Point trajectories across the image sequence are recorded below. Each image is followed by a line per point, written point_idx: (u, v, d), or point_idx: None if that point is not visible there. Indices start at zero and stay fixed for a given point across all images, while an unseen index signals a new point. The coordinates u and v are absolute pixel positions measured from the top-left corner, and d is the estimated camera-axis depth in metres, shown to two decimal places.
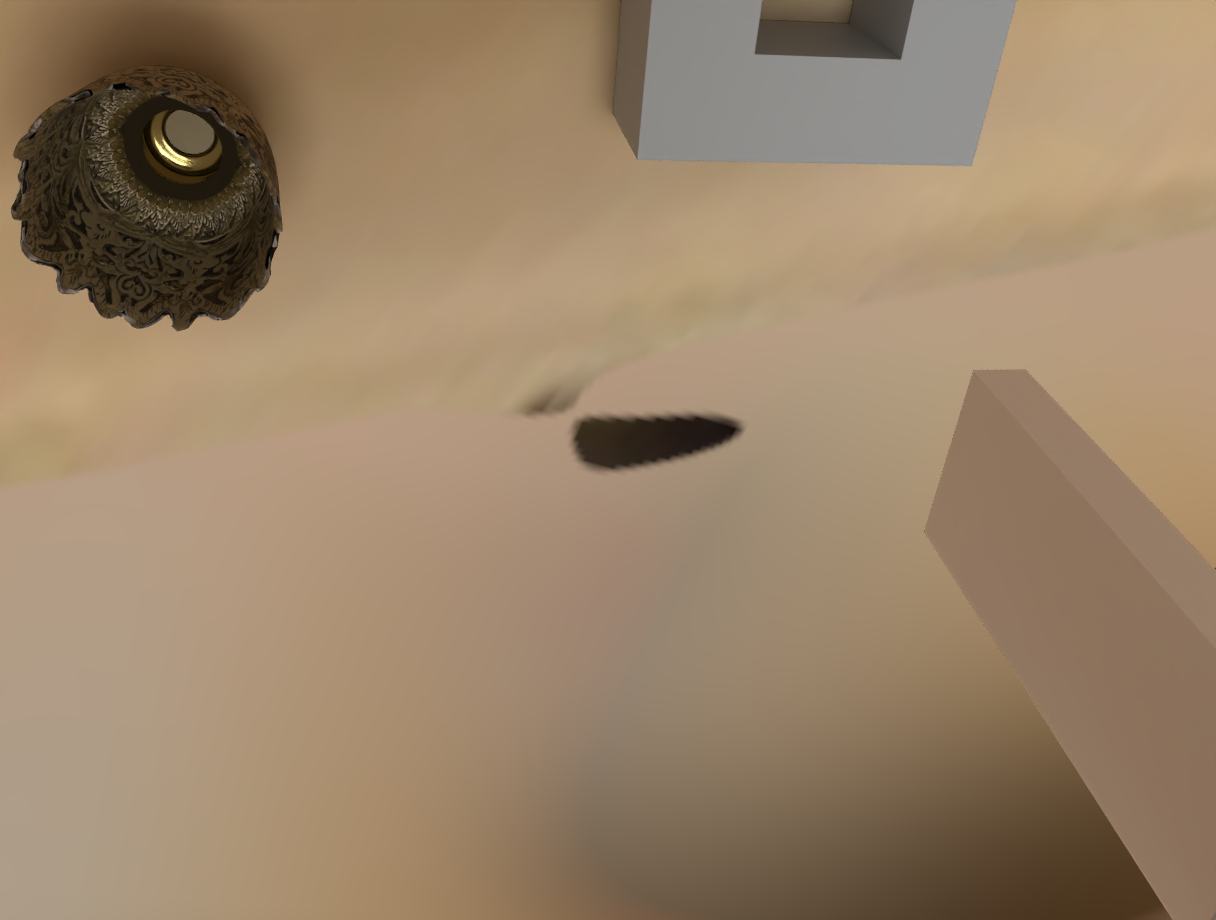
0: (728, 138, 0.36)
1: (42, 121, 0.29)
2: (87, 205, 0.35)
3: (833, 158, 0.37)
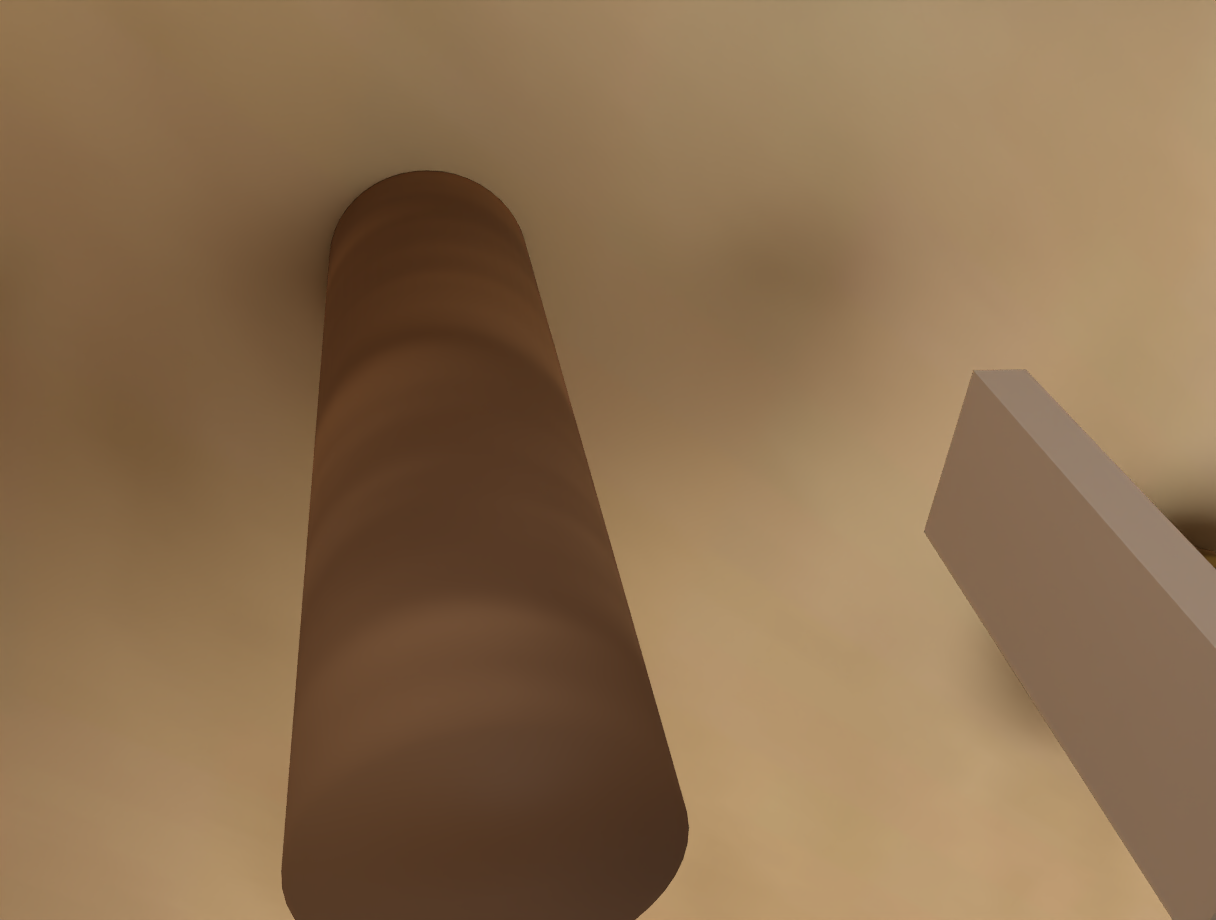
0: None
1: None
2: None
3: None
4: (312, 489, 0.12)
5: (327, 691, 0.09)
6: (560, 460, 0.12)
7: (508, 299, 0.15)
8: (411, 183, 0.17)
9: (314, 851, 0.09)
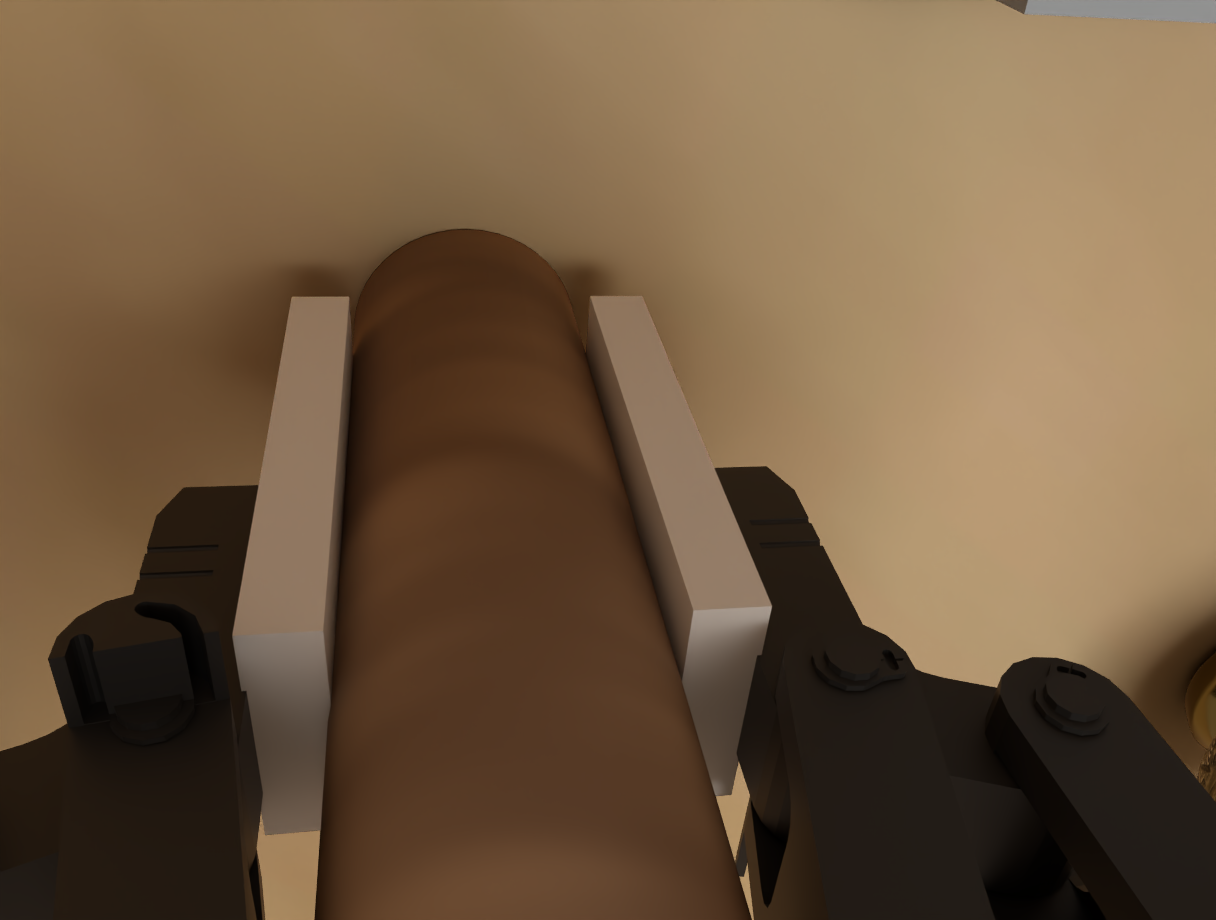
0: None
1: None
2: None
3: None
4: (335, 635, 0.10)
5: None
6: (633, 614, 0.10)
7: (561, 393, 0.13)
8: (448, 244, 0.15)
9: None
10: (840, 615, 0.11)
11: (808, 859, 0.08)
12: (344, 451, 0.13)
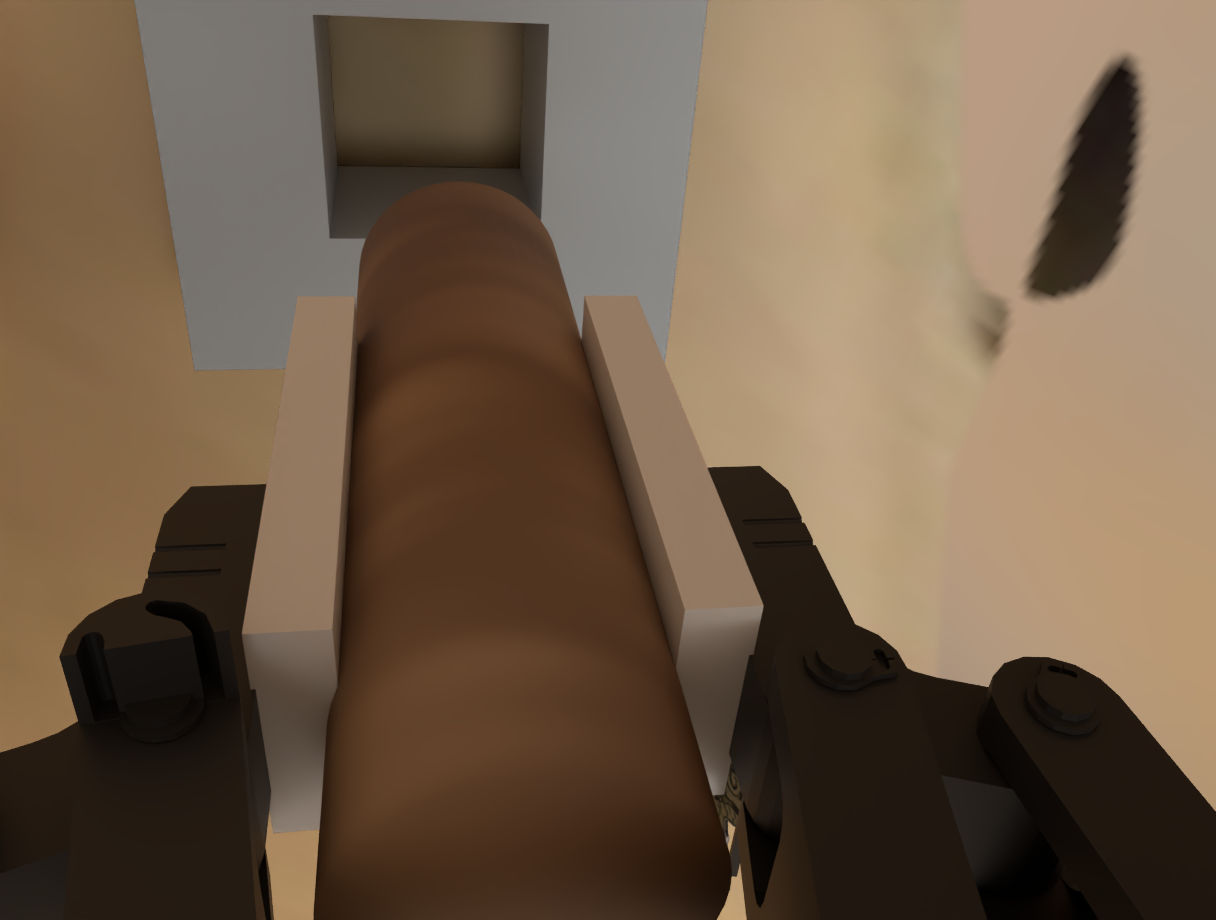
0: (647, 257, 0.27)
1: None
2: None
3: (688, 104, 0.25)
4: None
5: (361, 725, 0.09)
6: (597, 486, 0.12)
7: (542, 315, 0.14)
8: (444, 193, 0.17)
9: (347, 894, 0.08)
10: (833, 615, 0.11)
11: (800, 859, 0.08)
12: (350, 450, 0.13)
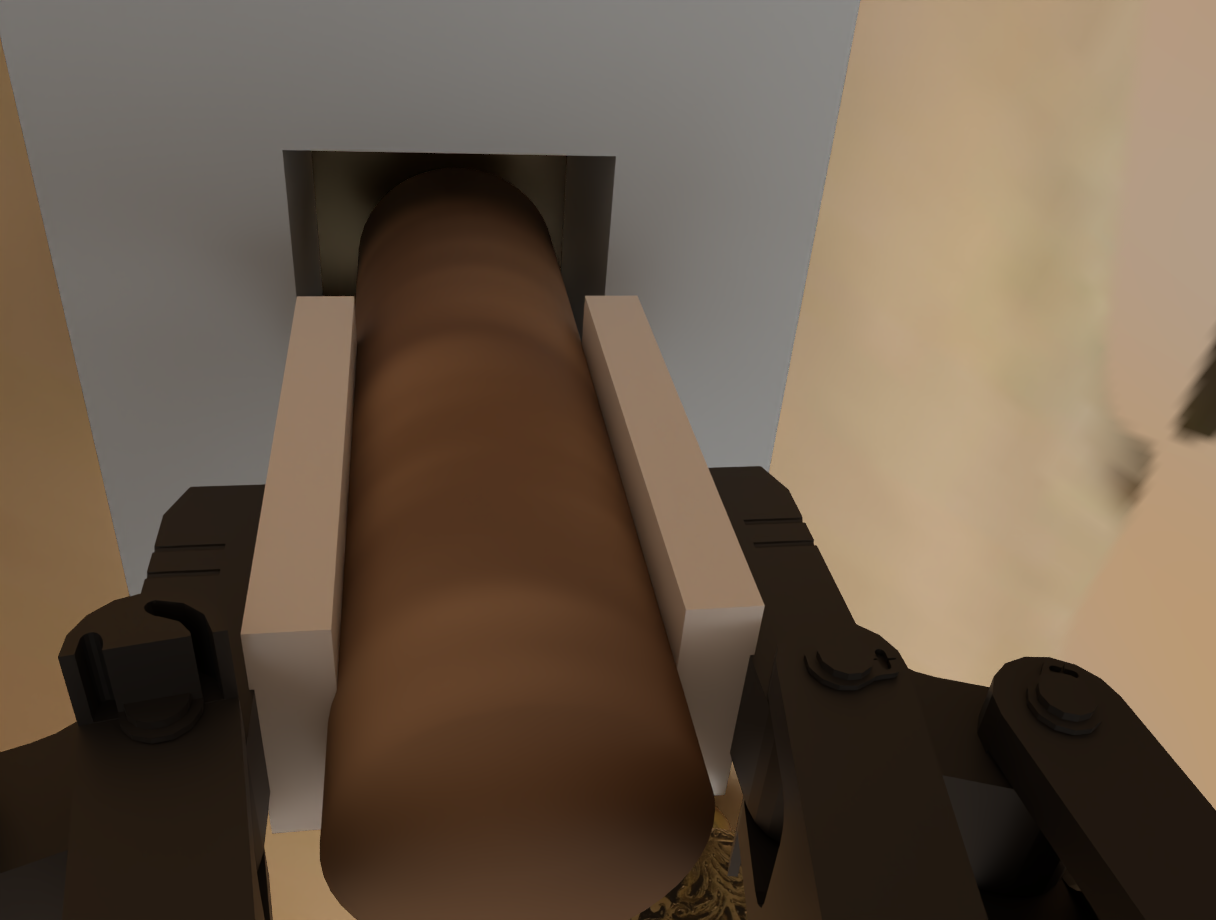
0: (734, 444, 0.20)
1: None
2: None
3: (800, 255, 0.18)
4: None
5: (364, 670, 0.09)
6: (589, 451, 0.12)
7: (536, 294, 0.15)
8: (441, 178, 0.18)
9: (352, 825, 0.09)
10: (834, 614, 0.11)
11: (801, 859, 0.08)
12: (350, 450, 0.13)
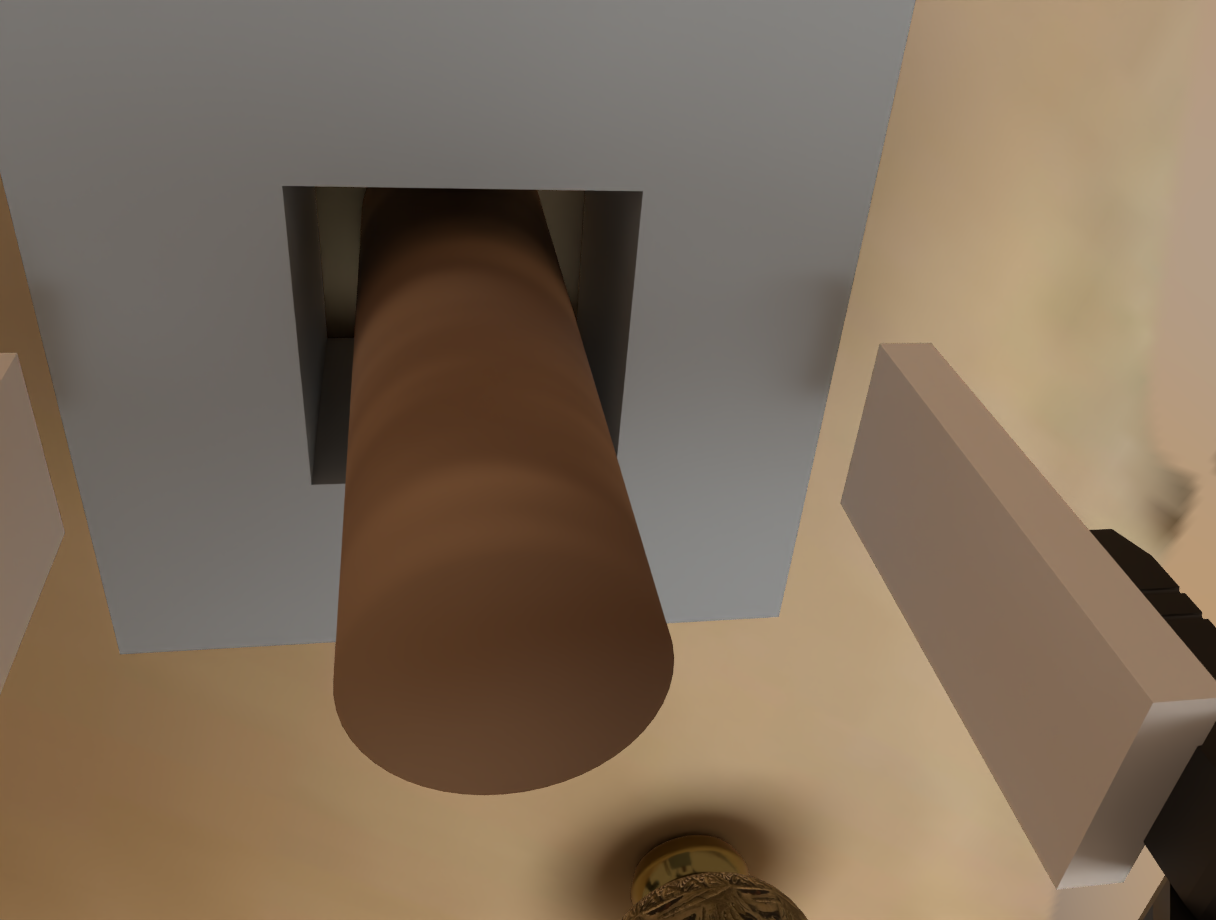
0: (764, 492, 0.19)
1: None
2: None
3: (839, 295, 0.17)
4: (352, 396, 0.14)
5: (371, 536, 0.11)
6: (569, 369, 0.14)
7: (524, 240, 0.16)
8: None
9: (361, 661, 0.10)
10: None
11: None
12: None
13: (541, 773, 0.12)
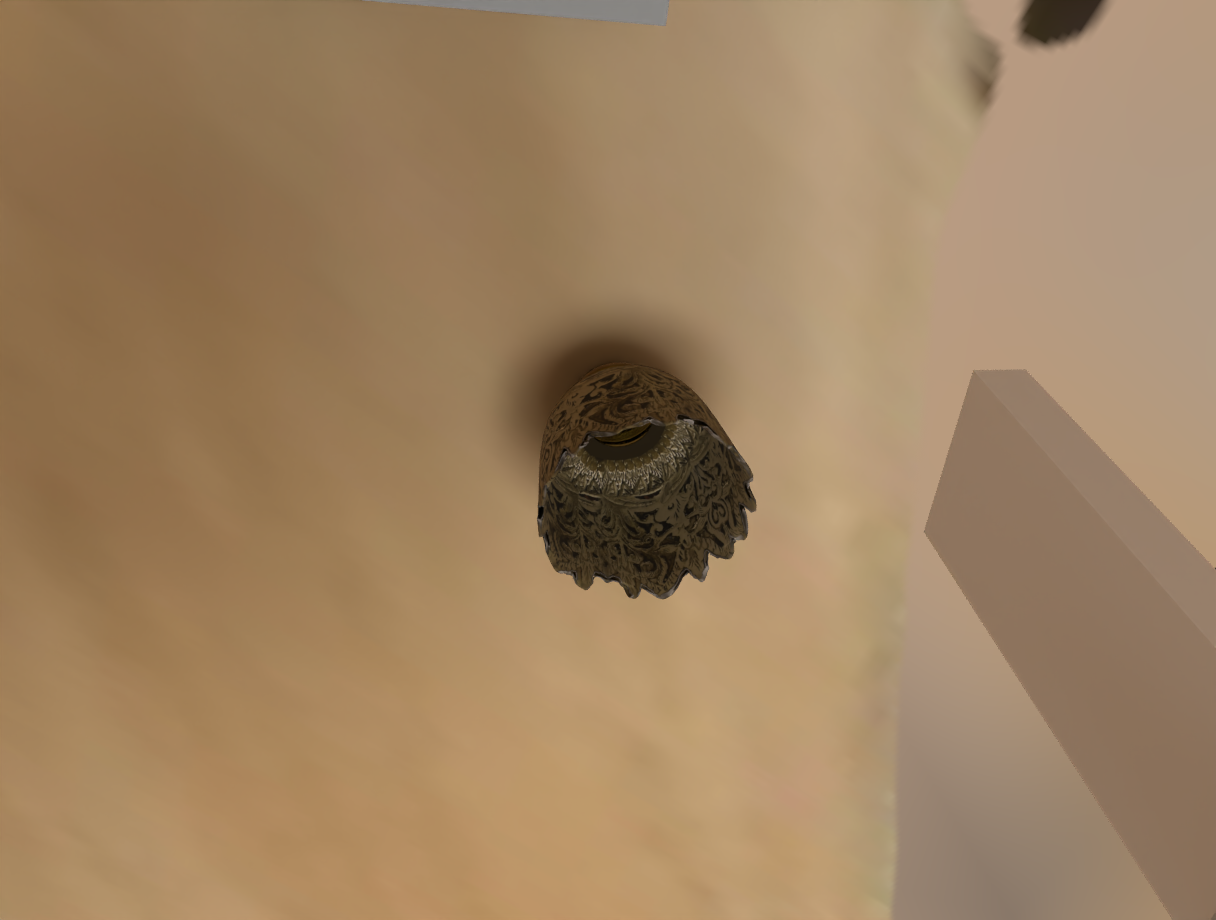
0: None
1: (561, 569, 0.37)
2: (651, 510, 0.41)
3: None
4: None
5: None
6: None
7: None
8: None
9: None
10: None
11: None
12: None
13: None
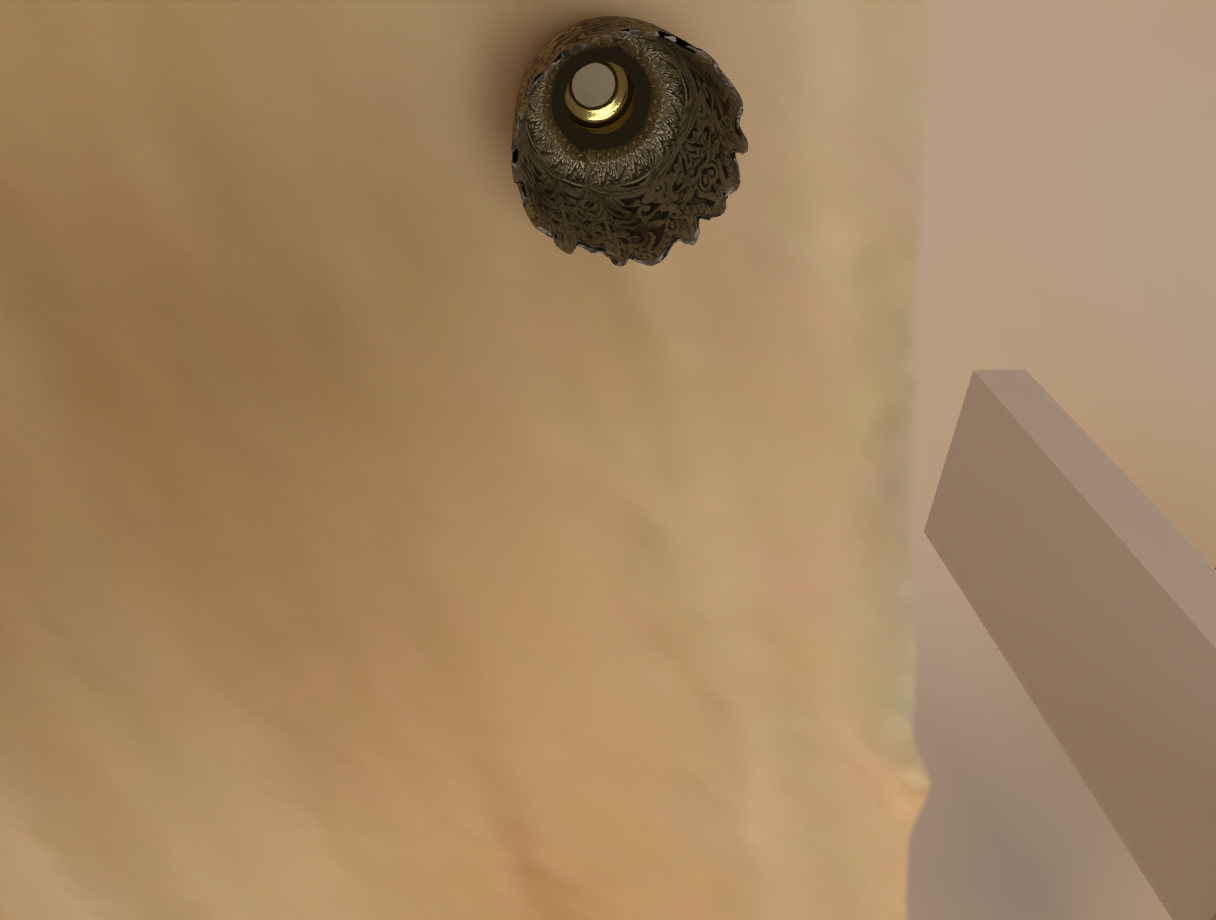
0: None
1: (540, 226, 0.34)
2: (638, 195, 0.38)
3: None
4: None
5: None
6: None
7: None
8: None
9: None
10: None
11: None
12: None
13: None
